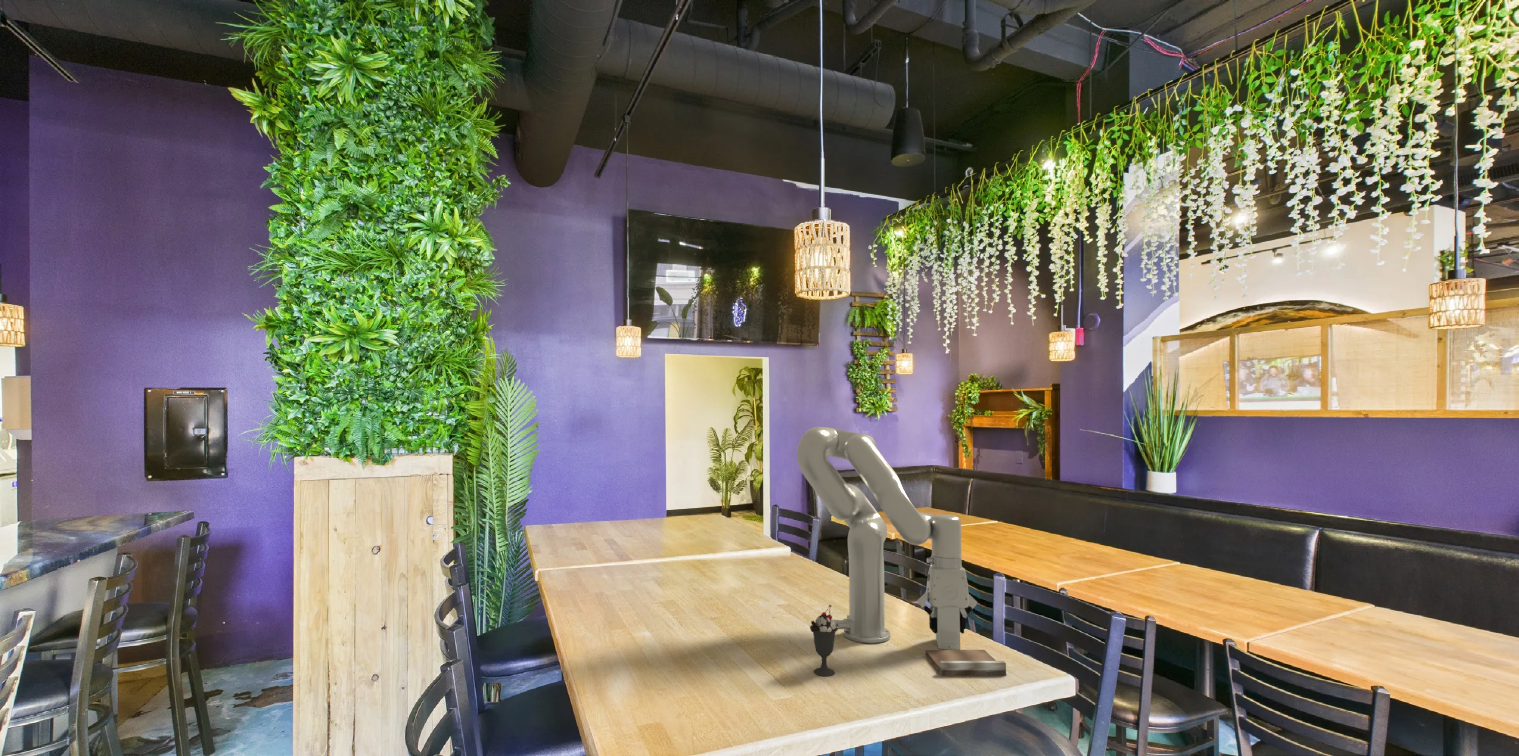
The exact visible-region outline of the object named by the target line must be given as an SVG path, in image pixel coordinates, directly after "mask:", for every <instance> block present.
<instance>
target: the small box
mask: <svg viewBox="0 0 1519 756" xmlns="http://www.w3.org/2000/svg"><path fill="white" fill-rule="evenodd" d="M936 618H937V633H935V640H936V645H937V649H938V650H961V632H960V609H959V607H938V608H937V613H936Z"/></svg>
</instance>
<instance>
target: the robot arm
mask: <svg viewBox="0 0 1519 756" xmlns="http://www.w3.org/2000/svg"><path fill="white" fill-rule="evenodd" d="M828 457H832V458H837V459H841V460H847V461H848V462H849V464H850V465H851V466H852V468H853V469H854V470H855V472H856V474H858V475H859V477H860V479H862V481H863V482H864V484H865V485H866V487H867V488H868V489H869V491H870V492H871V493H872V495H873V498H874V499H875V500H876V502H877V503H878V505H879V506H880V508H881V509H882V511H883V513H884V514H885V516H886V518H887V519H888V520H889V522H890V524H892V526H893V527H894V528H895V530H896V532H897V533H899V535H900V537H901V538H902V539H903V540H904V541H905V542H906V543H908V544H909V545H913V546H921V545H922V544H924V543H926V542H927V541H928V540H931V556H930V557H927V558H926V563H927V564H931V565H930V566H929V569H928V576H927V582H926V591H925V593H923V594H922V595H921V596H920V597H919V598H918V599H917V601H916V603H917V604H918V605H919V606H920V607H921V608H922V609H923V610H924V612H926V614H927V615H928V616H929V621H928V622H929V623H928V624H929V625H928V626H929V629H930V630H931V631H932V632H933V634H936V633H937V618H936V613H937V608H938V607H959V609H960V634H965V630H966V629H967V628H966V627H967V626H966V622H967V621H966V619H967V617H968V615H969V614H970V613H971V612H972V611H973V609H974V608H975V607H976V606H977V605H978V601H977V600H976V599H975V598H974V597H973V596H972V595H971V594H969V585H968V579H967V578H968V577H967V573H966V572H967V571H966V569H965V568H964V567H962V566H963V565H962V522H961V519H960V517H958V516H957V515H953V514H932V513H926V512H922V511H921V512H920V511H919V510H918V509H916V507H915V506H914V504H913V503H912V502H911V500H910V499H909V497H908V496H907V494H906V492H905V489H904V488H903V485H902V482H901V479H900V477H899V475H898V474H897V472H896V471H895V470H894V469H893V467H892V466H891V464H889V463H888V461H887V460H886V459H885V457H884V456H883V454H882V453H881V452H880V450H879V448H878V446H877V443H876V441H875V439H874V438H873V437H872V436H870V435H868V434H865V433H861V432H860V433H859V432H853V431H848V430H843V429H839V428H834V427H827V426H814V427H812V428H811V427H810V428H809V429H808V430H807V431H805V432H804V434H803V435H802V436H801V438H800V440H799V443H798V446H797V450H796V459H797V465H798V466H799V469H800V471H801V473H802V475H803V476H804V478H805V480H807V482H808V484H809V485H810V486H811V487H812V489H813V490H814V492H815V494H816V495H817V496H818V497H819V499H820V500H821V502H822V503H823V505H824V506H825V508H826V509H827V511H828V512H829V513H830V515H831V516H832V517H833V518H835V519H836V520H838V521H844V523H845V524H846V525H847V527H848V528H849V531H848V532H847V533H848V535H847V550H848V551H847V552H848V577H849V578H848V582H849V583H848V589H849V590H848V591H849V592H848V595H849V596H848V597H849V598H848V599H849V600H848V601H849V602H848V603H849V604H848V605H849V607H848V610H849V611H848V612H849V613H848V614H849V615H846V618H843V619H832V620H833V621H834V623H835V625H836V627H837V628H838V630H843V635H844V636H845V638H847V639H848V640H851V641H854V642H857V643H863V644H865V643H866V644H876V643H877V644H878V643H883V642H884V643H885V642H887V641H889V640H890V639H891V631H890V630H889V629H887V628H886V627H885V562H884V561H885V560H884V559H885V558H884V544H885V541H886V539H887V536H888V528H887V525H886V523H885V521H884V518H882V516H881V515H880V514H879V512H878V511H877V510H876V508H875V507H874V505H873V504H872V503H871V502H870V500H869V499H868V498H867V496H866V495H865V493H863V491H862V490H861V489H859V487H858V486H856V485H854V484H850V483H847V482H846V481H845V479H844V478H843V477H842V476H841V475H840V473H839V471H838V470H837V469H836V467H835V466H834V465H833V464H832V463H831V462H830V460H829V458H828ZM926 601H927V603H929V604H930V605H929V607H928V605H926Z"/></svg>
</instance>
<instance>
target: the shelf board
mask: <svg viewBox="0 0 1519 756" xmlns="http://www.w3.org/2000/svg"><path fill="white" fill-rule="evenodd" d="M924 652H925V653H924V654H925V656H926V657H927V658H928V660H929V661H930V662H931V664H932V665H933V666H934V668H935V669H936V670H937V671H938V673H939V674H940V675H941V676H1007V663H1006V661H1005V660H996V659H995V658H994V656H992V655H991V654H990V653H989V652H988V651H986V649H960V650H949V649H925V651H924Z"/></svg>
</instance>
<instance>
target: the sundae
mask: <svg viewBox="0 0 1519 756" xmlns="http://www.w3.org/2000/svg"><path fill="white" fill-rule="evenodd" d="M831 607H832V604H829V605H828V608H827V609H826V610H825V611H823V612H822V613H821V614H820V615H818V617H816V619H815V621H814V620H811V621H810V622H811V625H809V629H810V631H811V632H812V634H813V643H814V648H815V652H816V654H817V655H818V656H820V658H821V664H820V667H816V668H815V669H814V670H813V674H814V675H816V676H820V677H831V676H833V675H835V673H836V672H835V670H834V669H833V668H830V667H828V664H827V661H828V660H827V659H828V657H830V655H832V653H833V651H834V646H835V645H834V644H835V640H836V639H835V638H836V632H838V630H839V629H838V627H836V625H835V623H834V621H833V620H834V619H833V615H832V614H831ZM828 611H829V613H828V614H827V612H828Z"/></svg>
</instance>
